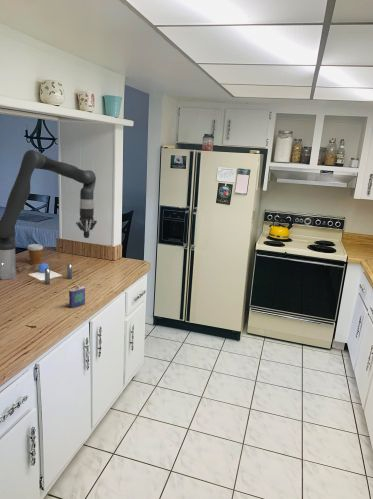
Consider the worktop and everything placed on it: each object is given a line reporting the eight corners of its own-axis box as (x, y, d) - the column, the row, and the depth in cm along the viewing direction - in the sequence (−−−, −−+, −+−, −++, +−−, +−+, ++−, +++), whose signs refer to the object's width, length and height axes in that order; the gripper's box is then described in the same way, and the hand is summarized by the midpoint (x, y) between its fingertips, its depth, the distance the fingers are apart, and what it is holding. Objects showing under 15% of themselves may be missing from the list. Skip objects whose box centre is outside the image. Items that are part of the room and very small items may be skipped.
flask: (83, 302, 197) (83, 282, 195) (86, 304, 196) (87, 284, 193) (68, 307, 190) (67, 286, 187) (71, 309, 188) (71, 288, 186)
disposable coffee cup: (27, 261, 255) (26, 244, 252) (42, 261, 259) (42, 243, 256) (28, 266, 246) (27, 247, 243) (44, 265, 250) (43, 247, 247)
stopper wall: (19, 272, 233) (19, 268, 232) (17, 271, 234) (17, 267, 234) (46, 267, 247) (46, 263, 246) (44, 266, 248) (44, 262, 247)
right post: (69, 279, 228) (69, 265, 226) (66, 278, 229) (66, 264, 227) (72, 278, 230) (72, 264, 228) (70, 277, 231) (70, 263, 229)
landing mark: (41, 280, 223) (41, 280, 223) (28, 274, 231) (28, 274, 231) (62, 275, 233) (62, 275, 233) (49, 270, 242) (49, 269, 242)
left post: (46, 285, 217) (46, 269, 214) (44, 283, 218) (43, 268, 216) (50, 284, 219) (50, 268, 216) (48, 282, 220) (48, 267, 218)
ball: (37, 273, 236) (41, 273, 232) (36, 264, 236) (39, 263, 232) (47, 272, 240) (51, 271, 236) (45, 262, 240) (49, 261, 236)
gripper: (92, 205, 221) (91, 235, 225) (72, 206, 211) (72, 237, 215) (100, 207, 216) (100, 237, 221) (80, 209, 206) (80, 240, 211)
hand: (86, 237), depth 218 cm, fingers closed
